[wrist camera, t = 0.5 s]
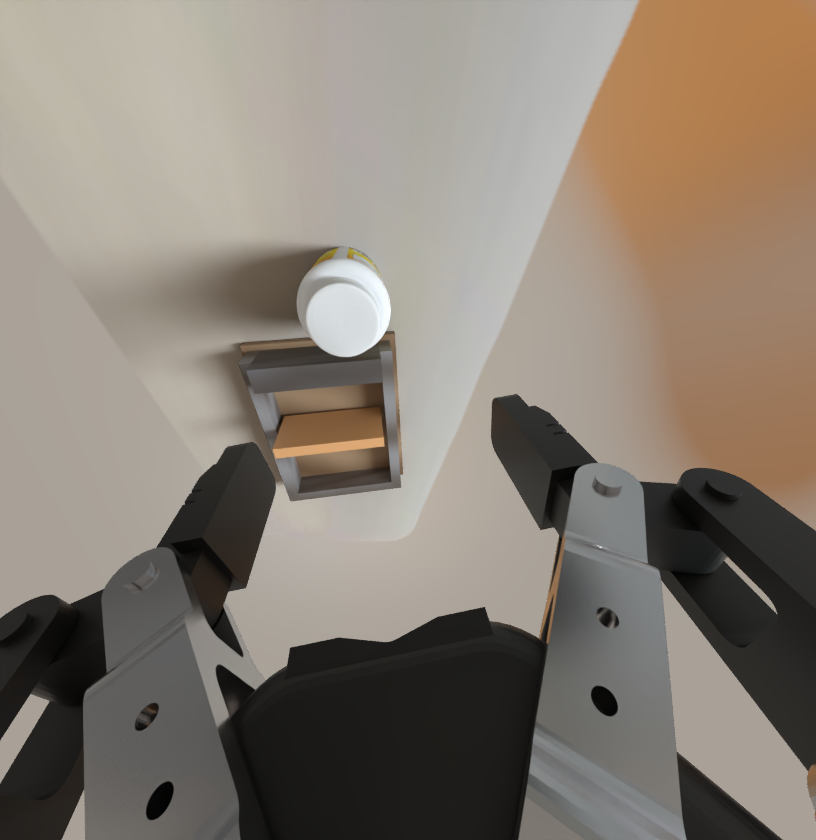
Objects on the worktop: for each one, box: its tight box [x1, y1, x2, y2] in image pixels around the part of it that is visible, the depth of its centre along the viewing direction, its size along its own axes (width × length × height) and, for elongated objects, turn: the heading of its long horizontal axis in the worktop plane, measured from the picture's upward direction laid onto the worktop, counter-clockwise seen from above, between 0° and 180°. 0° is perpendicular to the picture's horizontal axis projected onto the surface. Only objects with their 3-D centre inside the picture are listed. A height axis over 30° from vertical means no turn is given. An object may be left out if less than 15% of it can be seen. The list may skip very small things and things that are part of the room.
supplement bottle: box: [297, 247, 391, 357], centre depth 20 cm, size 6×6×10 cm
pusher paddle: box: [272, 407, 385, 459], centre depth 28 cm, size 1×9×5 cm, turn 91°
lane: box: [238, 331, 403, 501], centre depth 29 cm, size 17×13×5 cm
